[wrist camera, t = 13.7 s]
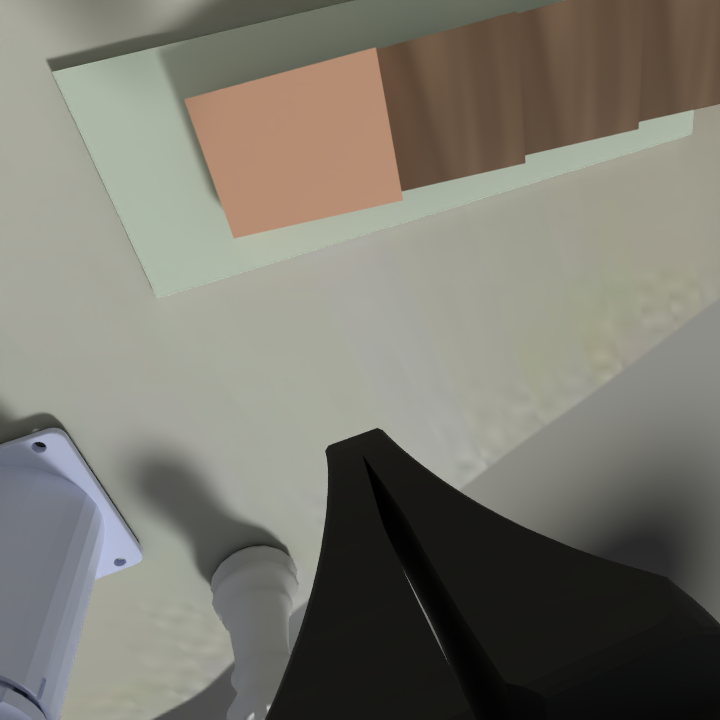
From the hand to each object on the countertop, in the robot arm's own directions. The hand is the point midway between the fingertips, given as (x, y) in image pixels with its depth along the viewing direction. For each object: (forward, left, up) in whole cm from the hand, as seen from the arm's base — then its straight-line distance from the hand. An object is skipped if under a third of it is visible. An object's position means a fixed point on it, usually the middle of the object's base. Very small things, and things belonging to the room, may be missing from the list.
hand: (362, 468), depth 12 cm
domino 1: (+4, +6, -9) cm, 12 cm away
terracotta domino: (-1, +6, -9) cm, 11 cm away
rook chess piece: (-6, -13, -11) cm, 18 cm away
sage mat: (+7, +6, -10) cm, 14 cm away
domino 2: (+8, +6, -9) cm, 14 cm away
